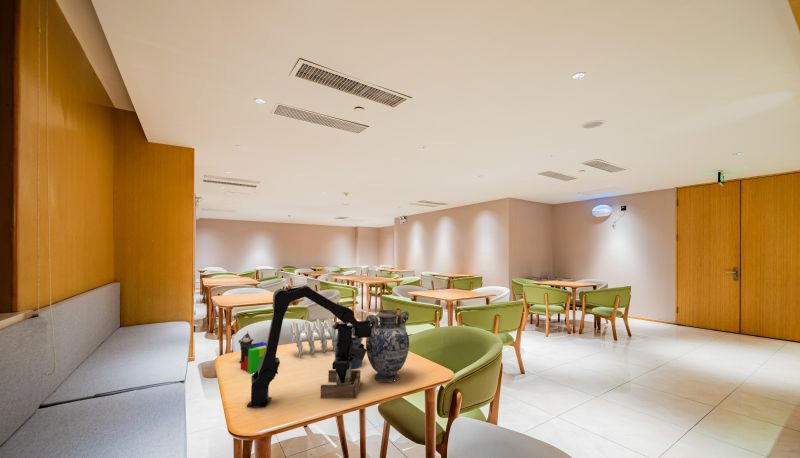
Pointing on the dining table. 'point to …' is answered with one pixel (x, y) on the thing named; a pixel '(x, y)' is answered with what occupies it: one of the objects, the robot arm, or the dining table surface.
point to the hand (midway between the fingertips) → (343, 380)
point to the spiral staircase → (314, 334)
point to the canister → (355, 362)
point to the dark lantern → (245, 340)
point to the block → (347, 378)
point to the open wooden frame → (341, 386)
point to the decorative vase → (387, 344)
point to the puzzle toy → (252, 356)
